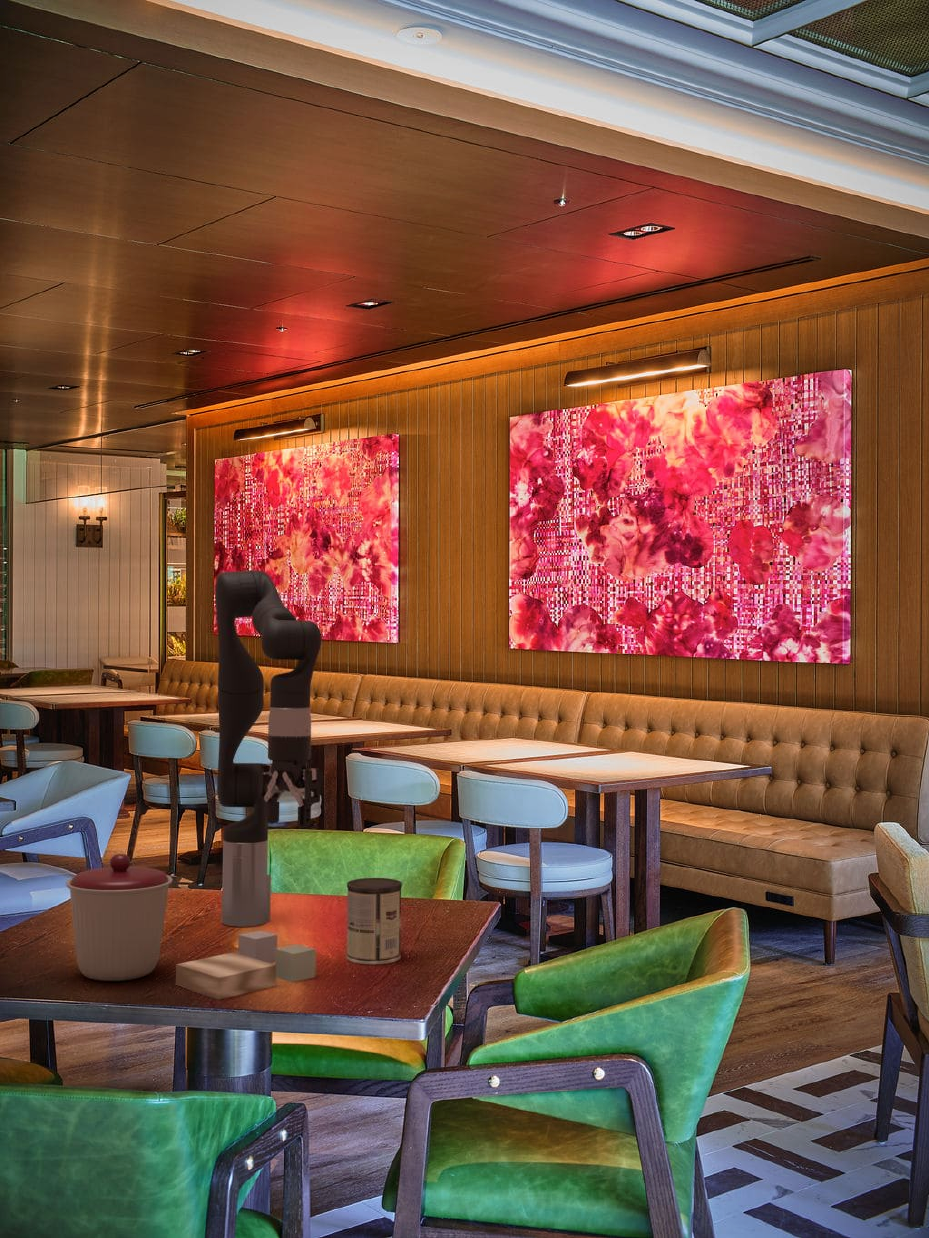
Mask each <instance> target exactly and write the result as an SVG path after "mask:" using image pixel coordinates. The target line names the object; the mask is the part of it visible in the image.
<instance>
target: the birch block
mask: <svg viewBox="0 0 929 1238" xmlns="http://www.w3.org/2000/svg"><path fill="white" fill-rule="evenodd" d="M276 983H277V977H276V965H275V963H268V962H265V961H261V960H258V959H254V958H251V957H247V956H244V955H240V954H238V952H228V953H223V954H218V955H213V956H209V957H205V958H200V959H195V960H191V961H186V962H182V963H181V962H180V963H177V964H176V963H175V986H176V985H178V986H181V987H184V988H186V989H185V990H187V989H188V991H190V990H191V991H190V992H194V993H197V994H199V995H203V996H205V997H209V998H212V999H215V1000H218V1001H219V1000H223V999H227V998H232V997H236V996H239V995H245V994H248V993H252V992H256V991H261V990H265V989H268V987H269V988H272V986H273V987H276V985H277V984H276ZM178 986H177V987H178ZM181 987H180V988H181ZM184 988H183V989H184ZM264 988H265V989H264Z"/></svg>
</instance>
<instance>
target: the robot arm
mask: <svg viewBox="0 0 929 1238" xmlns="http://www.w3.org/2000/svg"><path fill="white" fill-rule="evenodd" d="M214 589H215V591H214V592H215V593H214V595H215V596H214V597H215V612H216V624H217V639H218V641H217V642H218V673H217V674H218V675H217V702H218V703H217V704H218V705H217V708H218V727H219V728H218V732H219V737H218V738H219V739H218V741H219V742H218V757H217V758H218V760H217V776H216V780H217V784H216V790H217V791H216V793H217V798H218V799H217V800H218V802H219V804H220V805H221V806H222V807H224V808H253V810H252V812H251V813H249V815H247V816H246V817H244V818H243V819H240V820H238V821H236V822H232V823H230V824H227V825H226V826H225V827H224V828H223V832H222V833H223V834H222V835H223V837H222V838H223V839H222V841H223V842H222V843H223V847H222V888H221V889H222V891H221V896H222V897H221V923H222V924H223V925H225V926H231V927H241V928H242V927H245V928H246V927H256V926H260V925H261V926H262V925H263V924H266V923H267V922H270V921H271V904H272V903H271V901H272V900H271V899H272V898H271V897H272V896H271V894H272V890H271V889H272V887H271V886H272V876H271V875H269V874H268V857H269V855H268V853H269V852H268V850H269V849H268V847H269V828H268V827H269V824H277V823H279V821H280V801H279V800H280V798H281V796H282V794H283V793H284V792H289V793H290V794H291V796H293V797H294V798H295V800H296V802H297V805H298V806H297V827H298V828H300V829H306V828H307V829H308V828H309V827H310V825H311V821H312V806H313V805H314V804H317V803H318V804H319V803H320V801H321V788H320V787H321V785H320V781H321V779H320V769H319V768H318V767H316V768H315V767H314V768H308V767H307V762H308V761H309V760H310V759H311V757H312V756H311V755H312V751H311V750H312V746H311V745H312V715H311V686H312V685H311V683H312V679H313V676H314V675H313V674H314V671H315V666H316V662H317V660H318V656H319V653H320V650H321V647H322V646H321V645H322V639H323V638H322V633H321V630H320V627H319V626H318V625H317V624H316V623H315V622H313V621H311V620H298V619H297V617H296V616H295V615H294V614H293V612H292V611H290V609H289V608H288V607H286V606H285V605H284V603H283V601H282V599H281V597H280V594H279V592H278V590H277V588H276V586H275V583H274V582H273V579H272V578H271V576H270V575H269V574H267V572H265V571H263V570H256V569H255V570H253V569H252V570H251V569H250V570H243V571H242V570H240V571H239V570H238V571H227V572H225V571H224V572H221V573H220V574H218V576H217V577H216V580H215V588H214ZM250 617H251V621H252V625H253V627H254V629H255V631H256V632H257V633H258V634H259V636H261V644H260V645H261V649H262V653H263V654H264V655H265V656H266V657H267V658H270V659H271V660H275V661H276V660H278V661H281V660H282V661H297V664H296V665H295V667H294V668H293V670H290V671H288V672H283V673H278V674H275V675H273V676H272V677H271V680H270V686H269V689H270V690H269V691H270V694H269V695H270V697H269V698H270V699H269V707H270V708H269V714H268V729H267V758H268V759H269V760H270V761H272V763H261V762H234V759H235V756H236V754H237V752H238V750H239V749H238V748H239V747H240V746H241V743H242V742H243V740H244V738H245V737H246V736H247V734H248V732H249V731H250V730H251V729H252V727H253V726H254V725H255V723H256V722H257V721H258V719H259V717H260V715H261V714H262V713H263V709H264V704H265V703H264V702H265V701H264V700H265V699H264V698H265V697H264V696H265V689H264V688H265V679H264V675H263V673H262V670H261V669H260V667H259V665H258V663H257V662H256V661H255V660H254V658H253V657H252V655H251V654H250V653H249V652H248V650H247V649H246V647H245V646H244V644H243V642H242V640H241V639H240V637H239V634H238V633H237V629H236V619H239V618H250ZM312 791H313V795H312Z"/></svg>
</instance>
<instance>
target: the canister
mask: <svg viewBox="0 0 929 1238" xmlns="http://www.w3.org/2000/svg"><path fill="white" fill-rule="evenodd" d="M109 865H110V866H107V867H98V868H92V869H87V870H84V871H82V872H79V873H76V875H74V876H73V877H71V878H69V879H68V880H67V881H66V883H65V886H66V887H67V889H69V894H70V907H71V917H72V928H73V931H72V932H73V940H74V949H75V957H76V963H77V966H78V969H79V972H81V974H82V975H83V976H85V977H86V978H88V979H91V980H95V981H103V982H117V981H118V982H120V981H121V982H122V981H123V982H124V981H129V980H135V979H140V978H142V977H146V976H147V975H149V974H151V973H152V972H153V971H154V969H155V968H156V967H157V964H158V961H159V957H160V952H161V946H162V938H163V933H164V924H165V917H166V909H167V908H166V907H167V901H168V894H169V886H170V885H172V883H173V878H172V877H171V876H170V875H167V874H166V873H165V872H164V871H162V870H159V869H157V868H152V867H146V866H145V867H144V866H131V857H130V856H129V855H127V854H124V853H117V854H116V853H115V854H114V855H113V856H111V858H110V860H109Z"/></svg>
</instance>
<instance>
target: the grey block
mask: <svg viewBox="0 0 929 1238" xmlns="http://www.w3.org/2000/svg"><path fill="white" fill-rule="evenodd" d="M237 945H238V946H237V947H238V949H237V954H240V955H244V956H247V957H251V958H254V959H258V960H261V961H265V962H268V963H272V964H274V963H275V949H277V948H278V934H276V933H272V932H267V931H264V930H256V931H255V930H254V931H250V932H246V933H239V934H238V944H237Z"/></svg>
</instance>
